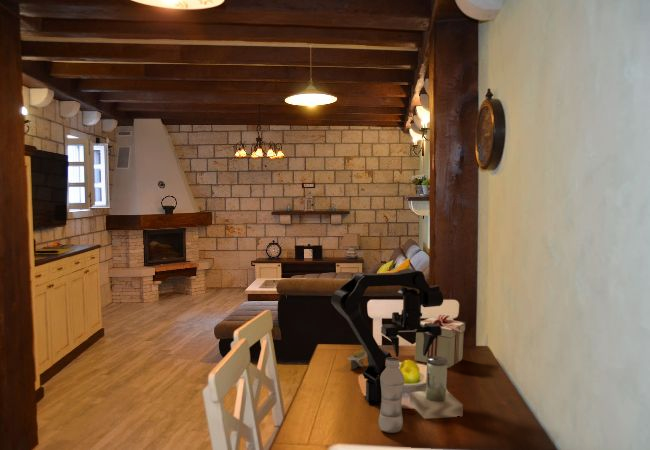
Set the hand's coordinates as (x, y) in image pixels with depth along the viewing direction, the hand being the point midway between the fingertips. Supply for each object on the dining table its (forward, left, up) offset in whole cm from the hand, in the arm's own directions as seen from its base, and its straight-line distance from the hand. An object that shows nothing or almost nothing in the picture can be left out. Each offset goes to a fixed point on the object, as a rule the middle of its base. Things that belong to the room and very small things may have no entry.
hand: (410, 356), depth 174 cm
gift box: (+26, +34, -13) cm, 45 cm away
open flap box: (-10, +29, -14) cm, 34 cm away
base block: (+4, -12, -13) cm, 18 cm away
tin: (+4, -12, -9) cm, 16 cm away
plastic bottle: (-14, -24, -13) cm, 31 cm away
